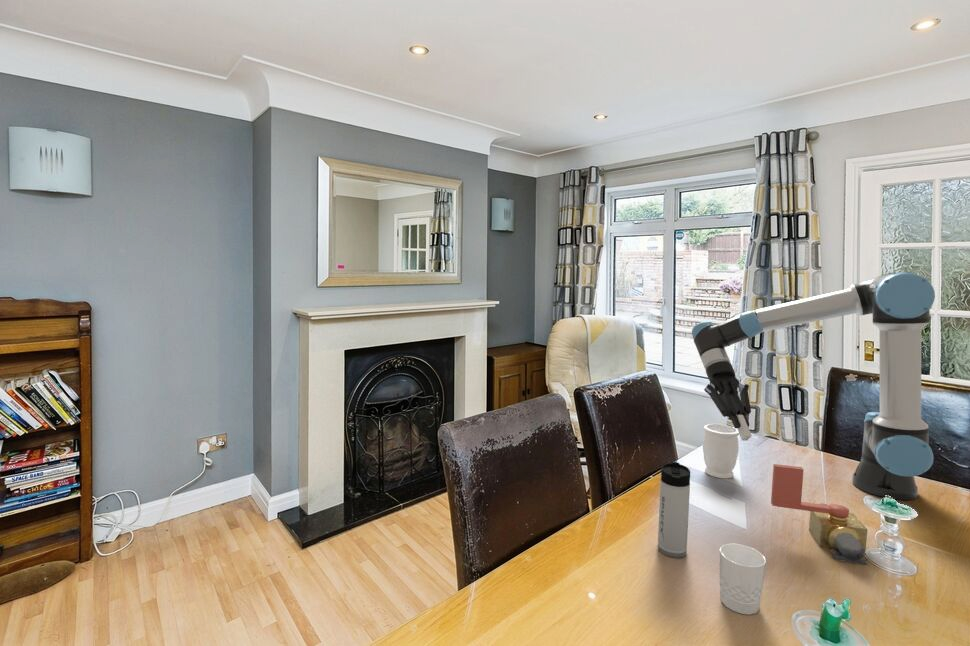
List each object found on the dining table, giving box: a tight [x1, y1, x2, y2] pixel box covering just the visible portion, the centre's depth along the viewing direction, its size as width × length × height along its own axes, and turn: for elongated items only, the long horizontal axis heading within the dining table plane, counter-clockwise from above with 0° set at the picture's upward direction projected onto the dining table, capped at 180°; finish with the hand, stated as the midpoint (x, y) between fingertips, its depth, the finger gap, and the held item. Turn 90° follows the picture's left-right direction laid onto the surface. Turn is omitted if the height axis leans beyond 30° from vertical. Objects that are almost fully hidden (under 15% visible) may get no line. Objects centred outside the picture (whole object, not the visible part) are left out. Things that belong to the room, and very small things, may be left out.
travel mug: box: [657, 461, 691, 559], centre depth 112 cm, size 6×7×20 cm
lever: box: [770, 463, 850, 518], centre depth 117 cm, size 4×16×10 cm, turn 72°
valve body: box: [808, 502, 868, 565], centre depth 116 cm, size 19×9×7 cm, turn 162°
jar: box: [702, 423, 740, 479], centre depth 156 cm, size 11×10×15 cm
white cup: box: [719, 543, 767, 616], centre depth 94 cm, size 8×8×10 cm
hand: (746, 438), depth 134 cm, fingers closed
